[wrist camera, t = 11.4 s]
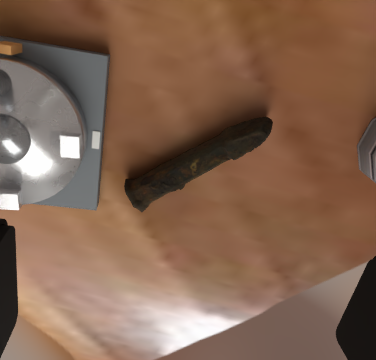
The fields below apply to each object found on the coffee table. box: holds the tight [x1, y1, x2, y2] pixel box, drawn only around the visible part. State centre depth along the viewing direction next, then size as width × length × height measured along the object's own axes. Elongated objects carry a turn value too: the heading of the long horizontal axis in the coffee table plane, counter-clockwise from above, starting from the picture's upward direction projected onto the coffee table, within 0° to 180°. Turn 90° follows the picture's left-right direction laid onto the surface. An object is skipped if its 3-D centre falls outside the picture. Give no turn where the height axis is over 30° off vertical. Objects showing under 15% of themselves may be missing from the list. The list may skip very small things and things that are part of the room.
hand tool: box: [124, 117, 273, 212], centre depth 41 cm, size 19×4×5 cm, turn 116°
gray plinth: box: [0, 36, 110, 210], centre depth 36 cm, size 18×18×5 cm
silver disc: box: [0, 56, 88, 210], centre depth 33 cm, size 15×15×8 cm
